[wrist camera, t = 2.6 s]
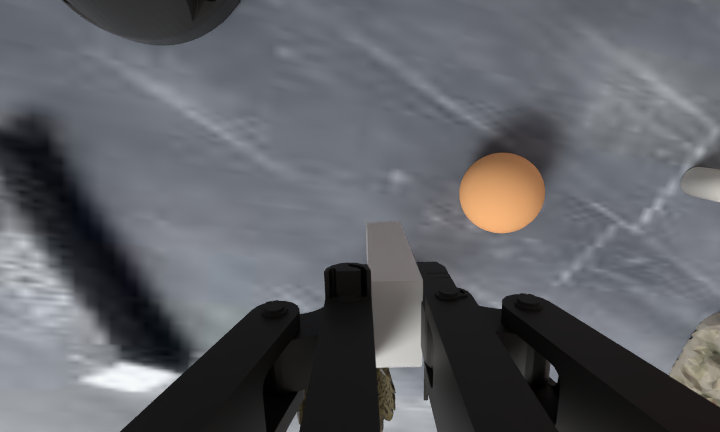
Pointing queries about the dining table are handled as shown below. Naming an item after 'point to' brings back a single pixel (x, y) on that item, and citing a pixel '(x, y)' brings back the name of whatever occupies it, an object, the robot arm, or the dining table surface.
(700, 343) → the ceramic cottage
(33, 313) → the dining table surface
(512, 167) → the ball
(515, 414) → the robot arm
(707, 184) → the pin
